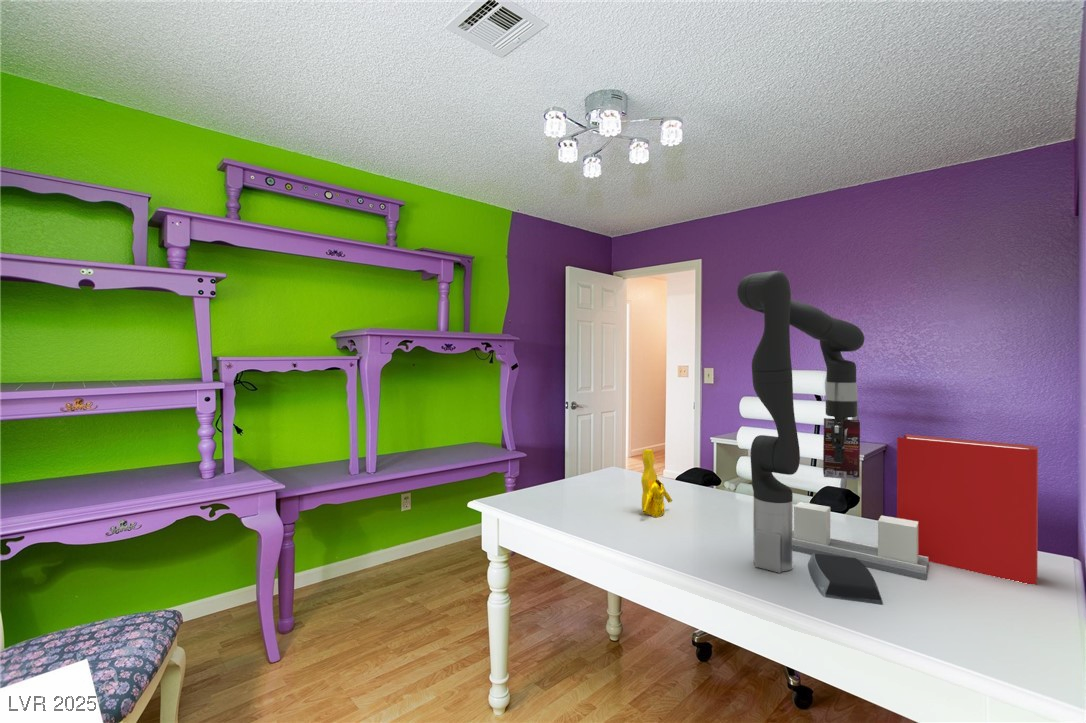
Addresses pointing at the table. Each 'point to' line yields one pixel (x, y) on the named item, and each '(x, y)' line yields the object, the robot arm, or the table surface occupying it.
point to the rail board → (890, 555)
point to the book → (972, 503)
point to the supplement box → (851, 451)
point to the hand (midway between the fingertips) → (841, 460)
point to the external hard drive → (843, 578)
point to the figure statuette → (652, 488)
